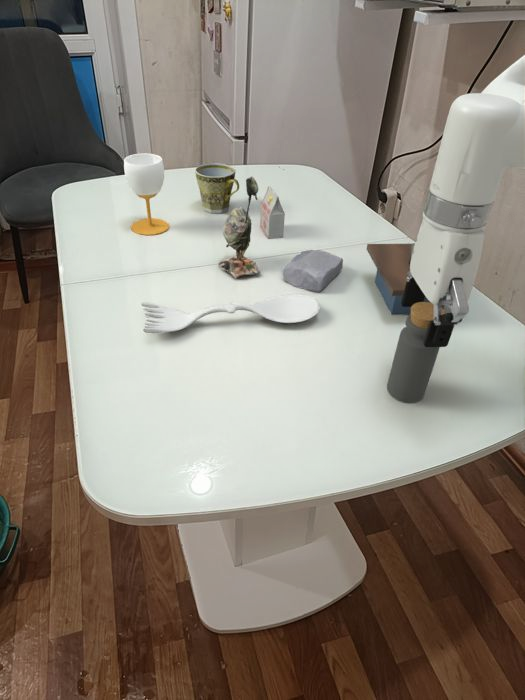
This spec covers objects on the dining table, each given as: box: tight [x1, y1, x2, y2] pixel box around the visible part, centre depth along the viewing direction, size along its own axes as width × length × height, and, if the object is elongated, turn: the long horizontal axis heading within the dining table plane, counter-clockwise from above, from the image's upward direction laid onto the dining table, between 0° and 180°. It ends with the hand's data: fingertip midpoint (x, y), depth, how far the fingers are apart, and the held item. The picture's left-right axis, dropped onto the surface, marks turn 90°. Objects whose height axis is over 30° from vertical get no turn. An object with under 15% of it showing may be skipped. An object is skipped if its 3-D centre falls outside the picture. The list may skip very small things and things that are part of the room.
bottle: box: [386, 302, 446, 404], centre depth 75 cm, size 6×6×15 cm
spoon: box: [140, 293, 321, 334], centre depth 92 cm, size 9×32×4 cm, turn 103°
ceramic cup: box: [194, 163, 240, 214], centre depth 129 cm, size 13×10×10 cm
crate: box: [374, 268, 448, 315], centre depth 100 cm, size 10×12×6 cm
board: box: [366, 243, 413, 296], centre depth 98 cm, size 14×18×1 cm
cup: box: [123, 152, 170, 236], centre depth 118 cm, size 9×9×16 cm
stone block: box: [282, 249, 344, 293], centre depth 106 cm, size 12×5×10 cm
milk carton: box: [259, 186, 286, 240], centre depth 120 cm, size 4×7×10 cm, turn 17°
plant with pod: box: [218, 175, 261, 279], centre depth 103 cm, size 8×11×20 cm
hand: (422, 324), depth 72 cm, fingers open, 9 cm apart
